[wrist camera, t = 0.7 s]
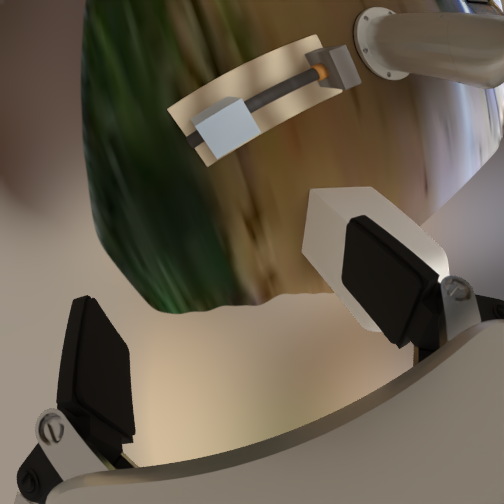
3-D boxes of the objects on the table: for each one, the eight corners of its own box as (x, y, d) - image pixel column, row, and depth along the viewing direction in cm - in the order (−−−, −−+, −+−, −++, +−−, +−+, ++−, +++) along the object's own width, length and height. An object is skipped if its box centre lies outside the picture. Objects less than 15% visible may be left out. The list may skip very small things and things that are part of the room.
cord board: (312, 35, 26) (342, 28, 20) (338, 91, 31) (370, 96, 26) (167, 108, 28) (165, 114, 22) (206, 164, 33) (214, 183, 28)
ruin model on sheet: (459, 0, 21) (494, 3, 14) (458, -10, 19) (493, -8, 12) (483, 22, 24) (514, 28, 16) (482, 13, 22) (513, 18, 14)
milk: (371, 186, 42) (489, 282, 22) (358, 243, 49) (447, 345, 28) (309, 188, 39) (434, 312, 19) (301, 252, 46) (387, 380, 26)
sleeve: (228, 96, 27) (241, 98, 22) (244, 123, 30) (261, 132, 25) (190, 118, 28) (194, 126, 23) (208, 145, 30) (217, 159, 25)
